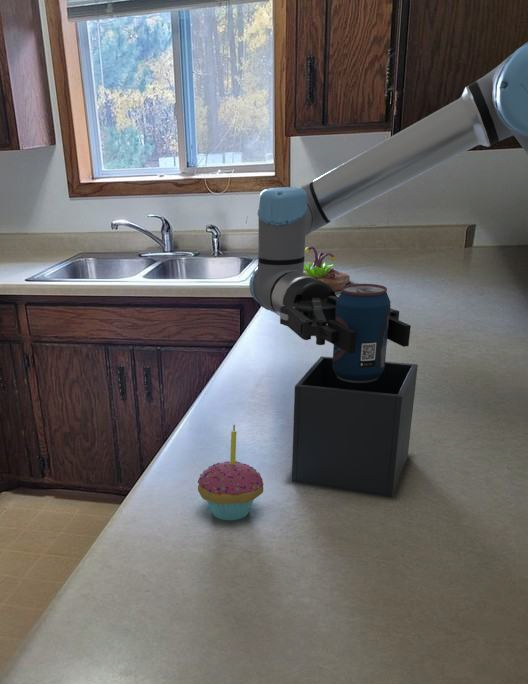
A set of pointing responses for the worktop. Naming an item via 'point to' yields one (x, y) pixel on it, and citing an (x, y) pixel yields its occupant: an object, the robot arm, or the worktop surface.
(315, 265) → the plant
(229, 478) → the cupcake
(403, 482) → the worktop surface
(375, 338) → the soda can
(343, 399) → the open dark gray box
